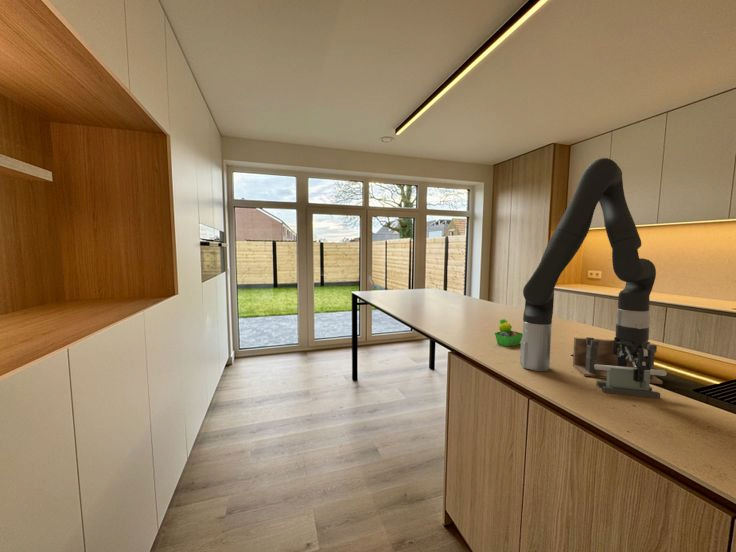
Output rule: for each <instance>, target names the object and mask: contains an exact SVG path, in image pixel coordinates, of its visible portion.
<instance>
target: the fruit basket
mask: <svg viewBox="0 0 736 552" xmlns="http://www.w3.org/2000/svg"><path fill="white" fill-rule="evenodd" d="M512 328H513V327H512V325H511V324H510V322H508V320H507V319H504V318H501V319H500V320H499V324H498V330H499V331H496V332H494V335H495V340H496V343H497V344H498V345H501V346H504V347H513V346H517V345H521V339H522V337H523V332H518V331H515V330H512Z"/></svg>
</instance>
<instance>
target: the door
mask: <svg viewBox="0 0 736 552" xmlns="http://www.w3.org/2000/svg"><path fill="white" fill-rule="evenodd" d="M594 368H595V369H596V370H606V371H607V379H606V381H605V382H606V386H608V387H618V388H627V389H636V390H646V391H649V386H650V384H651V383H650V375H653V376H660V377H661V376H662V377H665V376H667V374H668V373H667V371H665V369H664V370H663V369H654V368H653V369H651V370H645V371H644V381H643V382H635V381H634V380H633V373H634V368H632V367H620V366H609V365H598V364H595V365H594Z"/></svg>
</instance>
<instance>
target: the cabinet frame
mask: <svg viewBox="0 0 736 552" xmlns="http://www.w3.org/2000/svg"><path fill="white" fill-rule="evenodd" d="M657 348H658V345H657V344H651V342H650V341H649V340H648V341H647V342H644V343H643V349H649V350H650V351H651V369H654V363H655V355H656V354H655V353H657V351H658V350H657ZM613 349H614V339H603V338H602V339H601V338H595V337H588V336H587V337H577V336H576V337H575V336H574V337H573V351H572V352H573V353H572V367H573V368H575V370H577V372H579V373H580V374H581V375H582V374H583V375H584V376H583V375H582V376H583V377H585V376H592V377H591V378H595V377H601V378H600V379H605V378H607V371H606V370H596V369H595V368H594V365H595V364H598V365H609V366H617V361H618V358H617V357H616V355H614V354H613ZM618 349H619V348H617V350H618ZM626 360H627V367H632V368H634V366H633V363H632V362H631V361H630V360H629V357H628V358H627V359H626ZM644 363H645V365H646V362H644ZM637 365H638V362H637ZM650 384H658V385H663V380H661V379H660V378H658V377H657V376H656V375H650Z"/></svg>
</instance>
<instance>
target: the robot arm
mask: <svg viewBox="0 0 736 552" xmlns="http://www.w3.org/2000/svg"><path fill="white" fill-rule="evenodd" d="M623 183H624V181H623V171H622V169H621V167H620V166H619V165H618V163H617V162H615V161H614V160H612V159H610V158H607V157H602V158H597V159H596V160H594V161H592V162H590V164H588V165H587V166H586V168H585V169H584V170H583V171H582V175H581V176H580V179H579V181H578V184H577V186H576V189H575V192H574V194H573V196H572V199H571V201H570V202H569V204H568V206H567V207H566V210H565V211H564V212H563V215H562V216H561V218H560V220H559V222H558V224H557V225H556V227H555V229H554V231H553V232H552V235H551V236H550V239H549V241H548V243H547V244H546V247H545V250H544V252H543V254H542V256H541V260H540V262H539V263H538V265H537V268H536V269H535V270H534V272H533V274H532V275H531V277H530V278H529V279H528V280H527V283H525V285H524V286H523V289H522V293H523V297H524V300H525V302H524V309H523V310H524V311H523V317H522V319H523V321H522V333H523V336H522V339H521V342H520V349H519V350H520V356H519V363H520V365H521V367H522V369H526V370H527V369H528V370H531V371H535V372H548V371H550V365H551V343H552V325H553V324H552V323H553V314H554V301H555V299H554V298H555V287H556V285H557V282H558V280H559V278H560V276H561V274H562V273H563V272H564V270H565V269H566V267H567V266H568V265H569V264H570V262H572V260H573V258H574V257H575V255H576V254H577V253H578V252H579V250H580V248H581V246H582V245H583V243H584V241H585V239H586V238H587V236H588V233H589V231H590V228H591V225H592V221H593V218H594V213H595V210H596V209H597V208H596V207H597V205H598V203H599V204H600V205H599V206H600V207H601V210H602V215H603V222H604V227H605V232H606V237H607V239H608V242H609V244H610V247H611V250H612V251H611V258H612V259H611V261H612V269H613V272H614V274H615V276H616V277H617V278H618V279H619V280H620V281H622V282H624V283H625V287H624V289H622V290H620V291H619V293H618V298H617V299H618V301H617V310H616V319H615V337H614V338H613V340H614V349H613V354H614V355H616V357H617V358H618V361H617V366H620V367H627V360H626V359H627V358H628V357H629V360H630V361H631V362H632V363H633V366H634V373H633V380H634V381H635V382H643V381H644V371H645V370H651V351H650V350H649V349H643V343H644V342H647V341H648V342H649V339H650V338H649V337H650V324H651V323H650V320H651V319H650V296H651V293H652V290H653V288H654V285H655V280H656V277H657V270H656V266H655V264H654V263H653V262H652V261H651V260H649V259H647V258H642V257H641V258H640V256H639V249H640V248H641V247H642V240H641V237H640V233H639V231H638V229H637V226H636V224H635V221H634V219H633V216H632V213H631V212H630V209H629V206H628V202H627V200H626V197H625V192H624V191H625V190H624V184H623ZM617 348H619V349H618V350H617ZM637 362H638V365H637ZM644 362H646V365H645V363H644Z"/></svg>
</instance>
